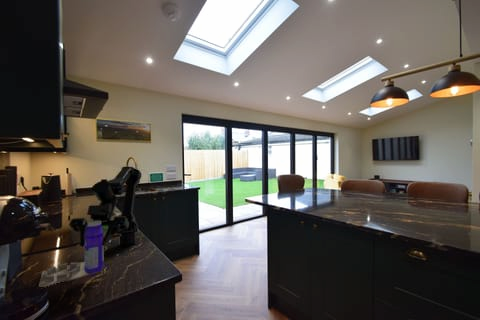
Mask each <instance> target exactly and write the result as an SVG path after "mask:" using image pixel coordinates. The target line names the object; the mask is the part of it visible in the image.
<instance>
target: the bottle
mask: <svg viewBox="0 0 480 320" xmlns="http://www.w3.org/2000/svg"><path fill="white" fill-rule="evenodd" d="M104 231H105V230H104ZM104 231H103V230H102V227H101V220H93V219H92V220H89V222H88V225H87V232H86V233H85V237H86V239H85V242H84V261H83V262H84V270H85V272H86V273H88V274H92V273H95V272H96V273H99V272H101V271H102V270H103V269H104V266H105V259H104V258H105V257H104V255H105V254H104V253H105V251H104V250H105V248H104V246H105V245H104V246H103V245H102V244H103V240H104V235H103V234H104V233H105V232H104ZM92 275H93V274H92Z"/></svg>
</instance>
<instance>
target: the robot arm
mask: <svg viewBox="0 0 480 320" xmlns="http://www.w3.org/2000/svg"><path fill="white" fill-rule="evenodd" d="M141 179H142V172H141V171H140V169H137V168H134V166H122V167H121V170H120V171H119V172H118V173H117V175H116V176H115V177H114V178H112V179H110V180H108V179H107V178H105V179H102V178H101V179H100V181H97V182H95V183H94V184H93V185H92V188H91V190H92V193H93V194H94V195H95V197H96V198H97V200H98V201H100V202H99V204H98V205H97V204H96V205H92V204H91V205H88V209H87V213H86V215H87V216H90V219H91V220H92V221H93V220H101V226H108V229H107V230H106V233H105V235H104V236H103V238H104V240H103V244H102V245H103V246H105V245H106V244H107V243H108V242H109V241H110V240H112V238H113V237H114V236H115V235H116V234H117V235H119V236H118V245H119V246H120V247H121V248H124V247H125V248H126V247H130V246H134V245H136V241H135V239H136V238H135V237H136V236H135V235H136V233H138V231H139V226H138V223H137V221H136V217H135V215H134V205H135V197H136V189H137V186H138V185H139V184H140V181H141ZM124 192H125V193H124ZM123 193H124V194H125V195H124V200H123V201H124V202H123V207H122V208H123V210H122V213H121V214H120V215H118V216H117V215H115V208H116V206H117V205H118V204H119V201H118V200H119V199H118V196H122V195H123ZM113 216H114V218H113ZM112 218H113V219H112ZM89 221H90V220H89ZM89 221H88V220H87V219H86V218H85V217H76V218H75V217H74V218H72V219H71V220H70V221H69V223H68V225H69V227H70V228H71V229H72V230H73V231H74V232H77V233H79V235H80V237H79V239H80V241H79V242H80V243H79V244H80V247H81V248H84V247H85V245H84V242H85V239H86V237H85V233H86V232H87V225H88V222H89Z"/></svg>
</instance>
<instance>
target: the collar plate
mask: <svg viewBox="0 0 480 320" xmlns="http://www.w3.org/2000/svg"><path fill="white" fill-rule="evenodd" d="M84 262H85V261H83V262H82V261H81V262H77V261H76V262H74V261H72V262H70V263H69V265H68V262H64V263H61V264H58V267H57V266H52V267H49V268H48V269H46V270H43V271H42V272H41V277H40V279H39V283H38V286H39V287H44V288H47V286H48V287H51V286H50V285H52V286H54V285H53V284H55V285H57V284H56V283H59V284H61V283H60V282H63V283H66V282H70V281H73V280H76V279H81V278H84V277H88V276H92V275H96V274H97V272H95V273H92V274H88V273H86V272H85V270H84ZM65 281H66V282H65Z"/></svg>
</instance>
